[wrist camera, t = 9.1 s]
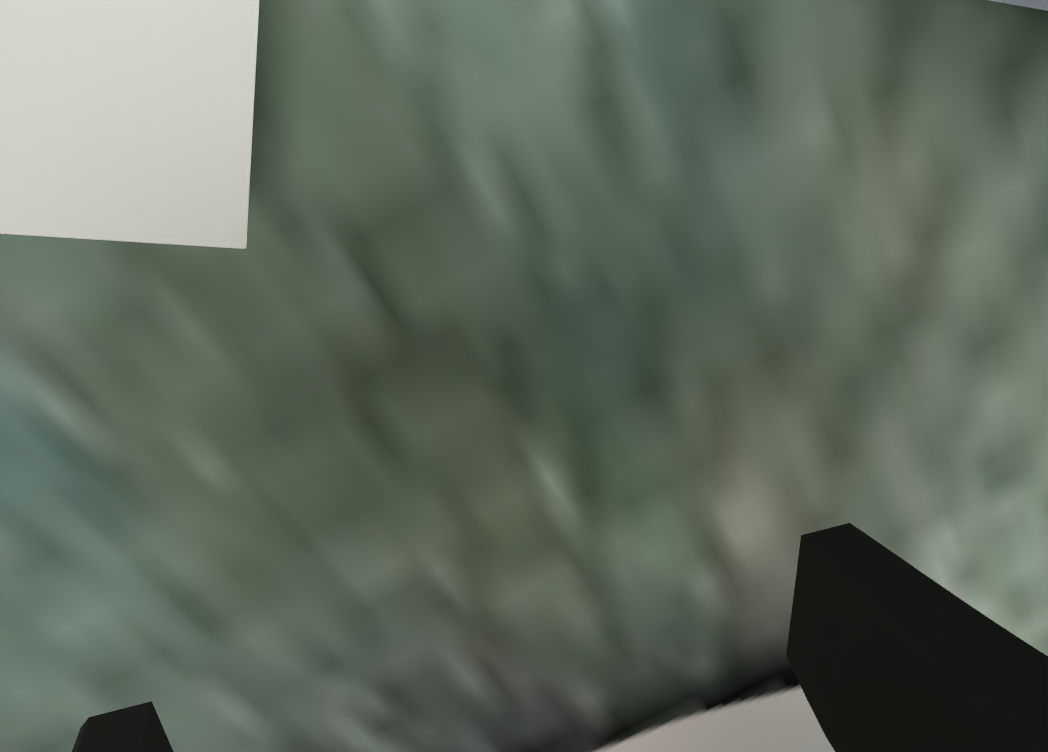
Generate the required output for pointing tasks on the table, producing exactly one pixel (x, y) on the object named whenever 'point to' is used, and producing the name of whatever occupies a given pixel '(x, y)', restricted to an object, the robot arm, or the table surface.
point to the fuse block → (127, 119)
